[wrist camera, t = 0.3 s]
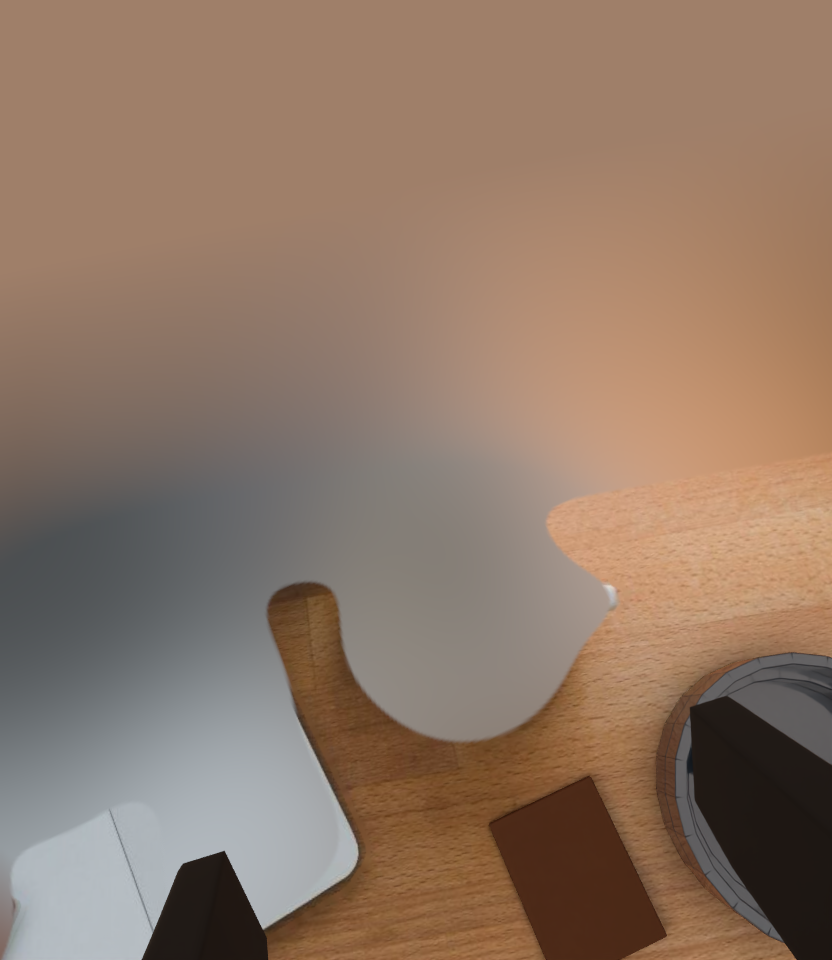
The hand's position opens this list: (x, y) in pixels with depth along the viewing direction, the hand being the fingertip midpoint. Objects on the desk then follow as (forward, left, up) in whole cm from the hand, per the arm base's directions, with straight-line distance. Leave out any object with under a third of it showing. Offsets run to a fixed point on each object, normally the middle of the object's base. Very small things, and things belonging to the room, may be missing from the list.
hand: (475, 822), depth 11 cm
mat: (-8, -2, -30) cm, 31 cm away
